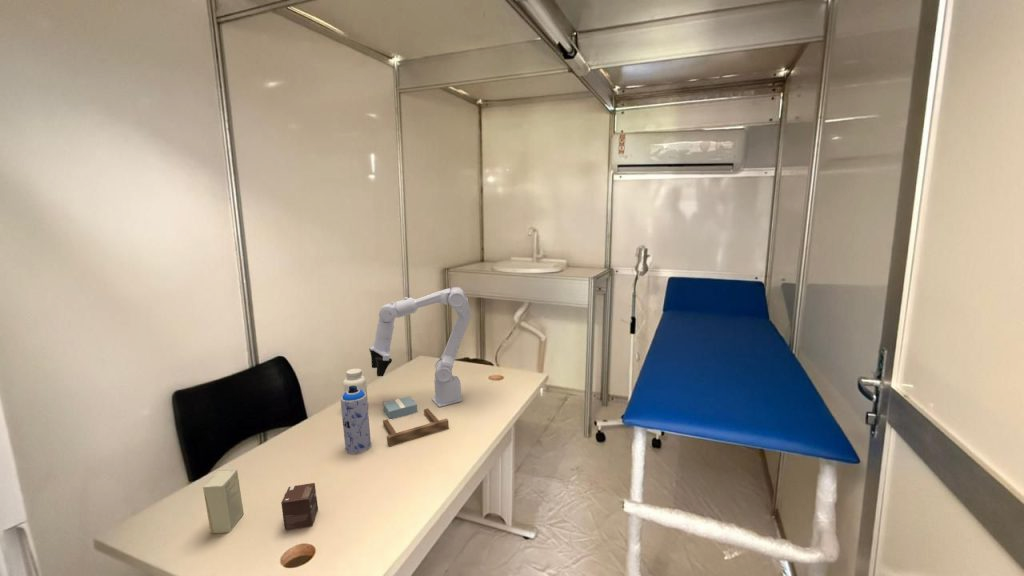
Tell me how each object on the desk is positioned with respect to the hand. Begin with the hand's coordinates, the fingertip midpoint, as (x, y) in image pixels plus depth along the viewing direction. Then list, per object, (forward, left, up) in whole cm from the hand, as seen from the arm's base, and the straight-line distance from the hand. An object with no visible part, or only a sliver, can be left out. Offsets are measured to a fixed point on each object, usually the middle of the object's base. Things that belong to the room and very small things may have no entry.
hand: (377, 371), depth 154 cm
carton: (-5, +8, -14) cm, 17 cm away
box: (+31, +49, -14) cm, 60 cm away
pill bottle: (+8, -3, -14) cm, 16 cm away
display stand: (-5, +22, -14) cm, 27 cm away
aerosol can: (+13, +24, -14) cm, 31 cm away
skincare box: (+46, +41, -14) cm, 63 cm away
